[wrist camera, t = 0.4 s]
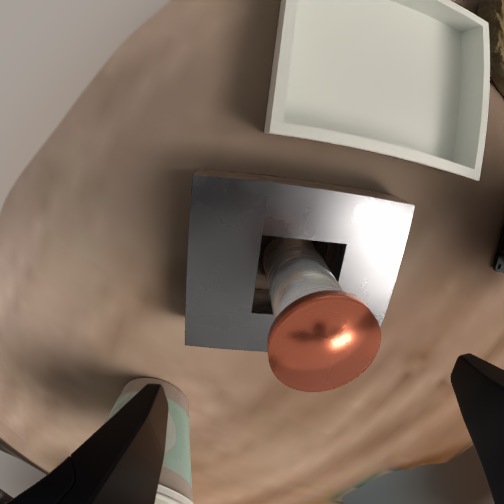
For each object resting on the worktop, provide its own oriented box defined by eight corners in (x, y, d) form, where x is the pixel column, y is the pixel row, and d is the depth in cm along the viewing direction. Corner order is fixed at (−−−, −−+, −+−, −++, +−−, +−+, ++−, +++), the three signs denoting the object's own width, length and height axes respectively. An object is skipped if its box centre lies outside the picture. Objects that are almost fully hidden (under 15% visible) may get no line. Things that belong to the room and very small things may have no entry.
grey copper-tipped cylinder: (329, 229, 20) (395, 303, 11) (316, 292, 21) (361, 390, 12) (259, 221, 19) (279, 296, 10) (250, 287, 21) (261, 391, 12)
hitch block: (391, 194, 19) (415, 205, 16) (357, 328, 22) (370, 353, 20) (199, 168, 18) (193, 174, 15) (190, 318, 21) (184, 345, 18)
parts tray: (462, 30, 15) (488, 22, 12) (451, 173, 18) (479, 180, 16) (284, -30, 13) (292, -54, 11) (264, 133, 17) (269, 132, 14)
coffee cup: (208, 373, 23) (198, 515, 12) (201, 435, 26) (194, 548, 15) (102, 354, 22) (46, 478, 11) (113, 420, 25) (82, 524, 14)
